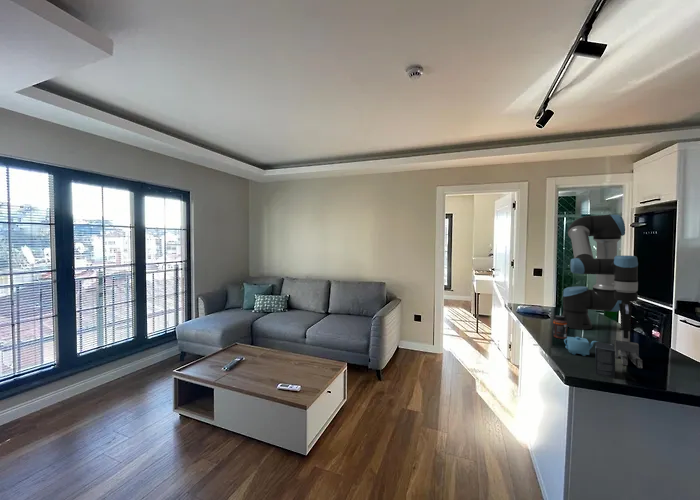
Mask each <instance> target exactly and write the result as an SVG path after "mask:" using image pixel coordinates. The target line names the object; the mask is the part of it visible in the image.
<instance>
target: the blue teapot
mask: <svg viewBox="0 0 700 500" xmlns="http://www.w3.org/2000/svg"><path fill="white" fill-rule="evenodd" d="M563 342H564V344H565V349H567V351H568V353H570V354H571V355H573V356H575V355H577V354H579V355H581V356H583V357H586V356H590V350H591V349H592V348H593V346H594V344H596V342H598V341H597V340H592V341H591V342H590V341H589V340H588V339H587V338H585V337H580V336H567V338H566V339H563Z"/></svg>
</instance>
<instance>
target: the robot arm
mask: <svg viewBox="0 0 700 500" xmlns="http://www.w3.org/2000/svg"><path fill="white" fill-rule="evenodd" d="M567 235H568V237H569V238H570V240H571V247H572V252H573V258H571V259H570V264H569V265H570V267H569V268H570V273H572V274H577V275H596V280H595V281H596V283H595V284H594V285H592V289H589V287H588V286H584V285H583V286H579V285H578V286H568V287H566V288H563V291H562V293H563V294H562V297H563V299H562V300H563V302H562V303H563V310H562V311H563V312H562V314H561V316H564V317H565V321H567V328H568V327H569V328H570V329H574V330H591V329H592V328H593V324H592V321H591V319H590V315H589V311H591V310H592V311H603V312H610V313H611V312H619V313H620V328H619V330H620V332H621V333H620V334H621V335H620V341H626V342H631V331H632V327H631V323H632V321H631V320H632V319H631V318H632V311H633V305H632V304H631V302H637V301H638V296H639V295H638V291H639V281H638V278H639V277H638V274H639V273H638V272H639V271H638V270H639V269H638V267H639V261H638V257H637V256H635V255H618V242H619V241H621V239H622V237H623V236H625V235H626V224H625V221H624V218H623V216H622V215H619V214H600V215H585V216H581V217H578V218H577V219H575V220H574V221H573V222H571V224H570V225H569V227H568V229H567ZM589 237H592V238H593V240H594V241H595V242H596V258H594V255H593V250H592V245H591V242H590V238H589ZM569 328H568V329H569Z"/></svg>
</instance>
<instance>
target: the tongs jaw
mask: <svg viewBox="0 0 700 500" xmlns="http://www.w3.org/2000/svg"><path fill="white" fill-rule="evenodd" d="M628 360H630V361H631V362H632V363H633V364H634V365H635V367H636V368H638V369H643V362H644V361H643V359H642V358H640V356H639V357H638V356H637V355H636V354H635V353H634V352H628Z"/></svg>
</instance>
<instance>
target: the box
mask: <svg viewBox="0 0 700 500" xmlns="http://www.w3.org/2000/svg"><path fill="white" fill-rule="evenodd" d="M595 375H597V376H601V377H605V378H611V379H615V378H616V357H615V343H605V342H600V341H597V342H595Z"/></svg>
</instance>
